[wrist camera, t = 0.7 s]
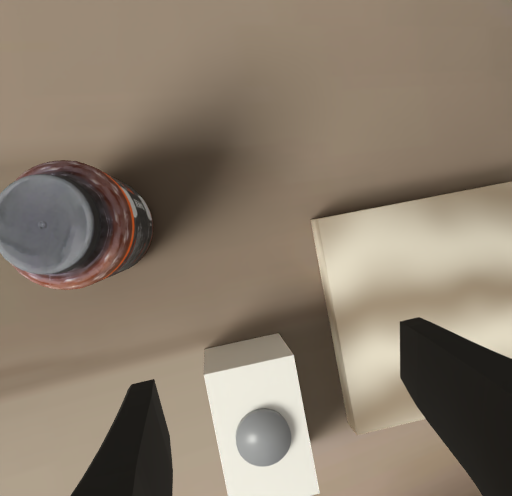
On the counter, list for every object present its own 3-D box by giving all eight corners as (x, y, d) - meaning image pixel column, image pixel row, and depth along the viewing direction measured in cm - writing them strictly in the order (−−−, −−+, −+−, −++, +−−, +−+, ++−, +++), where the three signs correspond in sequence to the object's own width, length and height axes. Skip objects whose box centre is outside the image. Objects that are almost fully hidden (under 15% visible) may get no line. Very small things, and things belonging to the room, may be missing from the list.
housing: (300, 447, 31) (321, 498, 25) (227, 464, 31) (232, 521, 25) (278, 332, 31) (295, 357, 25) (204, 348, 30) (203, 377, 24)
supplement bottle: (155, 181, 29) (123, 151, 18) (154, 274, 30) (121, 301, 18) (58, 177, 29) (-37, 144, 18) (57, 273, 29) (-38, 299, 18)
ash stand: (536, 377, 33) (558, 386, 31) (347, 422, 31) (357, 435, 29) (505, 182, 32) (525, 179, 30) (310, 219, 31) (317, 219, 29)
